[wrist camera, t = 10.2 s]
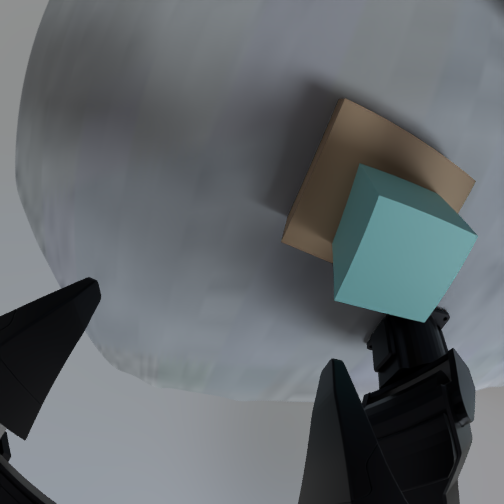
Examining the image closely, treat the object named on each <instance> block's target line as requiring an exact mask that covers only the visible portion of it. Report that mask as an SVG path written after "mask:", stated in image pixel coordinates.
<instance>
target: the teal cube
mask: <svg viewBox="0 0 504 504" xmlns="http://www.w3.org/2000/svg"><path fill="white" fill-rule="evenodd" d="M477 237H478V236H477V234H476V233H475V232H474V231H473V230H472V229H471V228H470V227H469V225H468V224H467V223H466V222H465V221H464V220H463V219H462V218H461V217H460V216H459V215H458V214H457V213H456V212H455V210H454V209H453V208H452V207H451V206H450V205H449V204H448V203H447V202H446V201H445V200H444V199H443V198H442V197H441V196H439V195H438V194H437V193H435V192H433V191H430V190H428V189H426V188H423V187H421V186H419V185H416V184H414V183H412V182H409V181H407V180H404V179H402V178H399V177H397V176H394V175H391V174H389V173H386V172H383V171H381V170H378V169H375V168H372V167H369V166H366V165H363V164H360V163H359V167H358V170H357V173H356V176H355V179H354V182H353V186H352V189H351V192H350V195H349V198H348V201H347V204H346V206H345V209H344V212H343V215H342V218H341V221H340V224H339V226H338V229H337V232H336V235H335V237H334V240H333V243H332V250H333V273H334V301H338V302H342V303H346V304H350V305H354V306H358V307H362V308H366V309H370V310H374V311H378V312H382V313H386V314H390V315H394V316H398V317H403V318H407V319H411V320H415V321H420V322H424V323H425V321H426V320H427V319H428V317H429V316H430V314H431V313H432V312H433V310H434V309H435V307H436V306H437V305H438V303H439V302H440V300H441V299H442V297H443V296H444V294H445V293H446V291H447V290H448V288H449V286H450V285H451V283H452V282H453V280H454V278H455V277H456V275H457V273H458V272H459V270H460V268H461V267H462V265H463V263H464V261H465V260H466V258H467V256H468V254H469V252H470V251H471V249H472V247H473V245H474V243H475V241H476V239H477Z"/></svg>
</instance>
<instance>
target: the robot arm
mask: <svg viewBox="0 0 504 504" xmlns="http://www.w3.org/2000/svg"><path fill="white" fill-rule="evenodd" d="M100 300H101V293H100V288H99V284H98V282H97V280H95V279H93V278H90V277H88V278H85V279H83V280H80V281H78V282H76V283H73V284H71V285H69V286H66V287H64V288H62V289H60V290H57V291H55V292H53V293H50V294H48V295H46V296H44V297H41V298H39V299H37V300H35V301H33V302H30V303H28V304H26V305H24V306H22V307H19V308H17V309H15V310H13V311H11V312H9V313H6V314H4V315H2V316H0V504H56V503H55V502H54V501H52V500H51V499H50V498H48V497H47V496H46V495H45V494H43V493H42V492H41V491H39V490H38V489H37V488H36V487H35V486H33V485H32V484H31V483H30V482H29V481H28V480H27V479H25V478H24V477H23V476H22V475H21V474H20V473H19V472H18V471H17V470H16V469H15V468H13V467H12V466H11V465H10V464H9V463H8V461H9V459H10V457H11V453H10V448H9V443H8V438H7V432H6V431H5V430H6V428H7V429H9V430H10V431H11V432H13V433H14V434H16V435H17V436H19V437H20V438H22V439H23V440H26V438H27V436H28V434H29V432H30V429H31V427H32V425H33V423H34V420H35V419H36V417H37V415H38V413H39V410H40V408H41V406H42V404H43V402H44V400H45V398H46V396H47V395H48V393H49V391H50V389H51V387H52V385H53V383H54V381H55V380H56V378H57V376H58V374H59V373H60V371H61V369H62V367H63V366H64V364H65V362H66V360H67V359H68V357H69V355H70V354H71V352H72V350H73V349H74V347H75V345H76V343H77V342H78V341H79V339H80V337H81V336H82V334H83V333H84V331H85V329H86V327H87V325H88V323H89V321H90V319H91V317H92V315H93V314H94V312H95V310H96V308H97V306H98V304H99V302H100ZM444 317H445V318H444ZM449 318H450V316H449V314H448V312H445V311H441V310H437V309H434V310H433V312H432V313H431V314H430V316H429V317H428V319H427V320H426V321H425V323H424V322H420V321H415V320H411V319H407V318H403V317H398V316H394V315H390V314H387V316H386V317H385V318H384V319H383V320H382V322H381V323H380V324H379V326H378V327H377V329H376V330H375V331H374V333H373V334H372V336H371V338H370V340H369V341H368V342H367V349H369V350H372V352H373V363H374V370H375V372H378V377H379V390H377V391H374V392H372V393H368V394H365V395H364V398H363V401H362V403H361V401H360V399H359V396H358V394H357V392H356V389H355V387H354V385H353V383H352V380H351V378H350V376H349V374H348V371H347V369H346V367H345V365H344V363H343V361H341V360H338V359H331V360H330V361H329V362H328V363H327V365H326V366H325V368H324V369H323V370H322V372H321V375H320V380H319V385H318V389H317V394H316V398H315V403H314V407H313V412H312V418H311V426H310V435H309V442H308V449H307V456H306V462H305V469H304V475H303V480H302V486H301V491H300V497H299V502H298V504H460V502H459V491H458V476H459V474H460V472H461V469H462V467H463V465H464V462H465V459H466V457H467V454H468V451H469V449H470V446H471V443H472V433H471V428H470V423H471V422H472V421H473V420H474V412H475V410H474V409H475V386H474V383H473V380H472V377H471V374H470V371H469V368H468V367H467V365H466V364H465V363H464V361H463V360H462V359H461V357H460V356H459V355H458V353H457V352H456V351H455V349H454V348H452V349H450V350H449V351H448V349H447V346H446V342H445V339H444V336H443V333H442V330H441V329H442V328H443V326H444V325H445V324H446V323H447V321H448V320H449Z"/></svg>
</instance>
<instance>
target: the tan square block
mask: <svg viewBox="0 0 504 504" xmlns="http://www.w3.org/2000/svg"><path fill="white" fill-rule="evenodd" d="M359 163H360V164H363V165H366V166H369V167H372V168H375V169H378V170H381V171H383V172H386V173H389V174H391V175H394V176H397V177H399V178H402V179H404V180H407V181H409V182H412V183H414V184H416V185H419V186H421V187H423V188H426V189H428V190H430V191H433V192H435V193H437V194H438V195H439V196H441V197H442V198H443V199H444V200H445V201H446V202H447V203H448V204H449V205H450V206H451V207H452V208H453V209H454V210H455V212H456V213H457V214H458V213H459V211H460V209H461V207H462V206H463V204H464V202H465V200H466V199H467V197H468V195H469V193H470V191H471V189H472V188H473V186H474V184H475V182H476V181H475V180H474V179H473V178H471V177H470V176H469V175H468V174H467V173H465V172H464V171H463V170H462V169H460V168H459V167H458V166H456V165H455V164H454V163H452V162H451V161H450V160H448V159H447V158H446V157H444V156H443V155H442V154H440V153H439V152H437V151H436V150H435V149H433V148H432V147H430V146H429V145H427V144H426V143H424V142H423V141H421V140H420V139H418V138H417V137H415V136H413V135H412V134H410V133H409V132H407V131H405V130H404V129H402V128H400V127H399V126H397V125H395V124H394V123H392V122H390V121H388V120H387V119H385V118H383V117H381V116H379V115H377V114H376V113H374V112H372V111H370V110H368V109H366V108H364V107H362V106H360V105H358V104H356V103H354V102H352V101H350V100H348V99H345V98H344V99H339V100H338V102H337V105H336V107H335V110H334V112H333V114H332V117H331V119H330V121H329V124H328V126H327V128H326V131H325V133H324V135H323V138H322V140H321V142H320V145H319V147H318V149H317V152H316V154H315V156H314V159H313V161H312V163H311V165H310V168H309V170H308V172H307V174H306V177H305V179H304V181H303V184H302V186H301V188H300V190H299V193H298V195H297V197H296V199H295V202H294V204H293V206H292V208H291V211H290V213H289V215H288V217H287V221H286V225H285V229H284V233H283V237H282V241H281V242H283V243H285V244H287V245H290V246H292V247H295V248H297V249H299V250H302V251H304V252H306V253H309V254H311V255H313V256H316V257H318V258H321V259H323V260H325V261H328V262H330V263H332V264H333V250H332V243H333V240H334V237H335V235H336V232H337V229H338V226H339V224H340V221H341V218H342V215H343V212H344V209H345V206H346V204H347V201H348V198H349V195H350V192H351V189H352V186H353V182H354V179H355V176H356V173H357V170H358V167H359Z"/></svg>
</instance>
